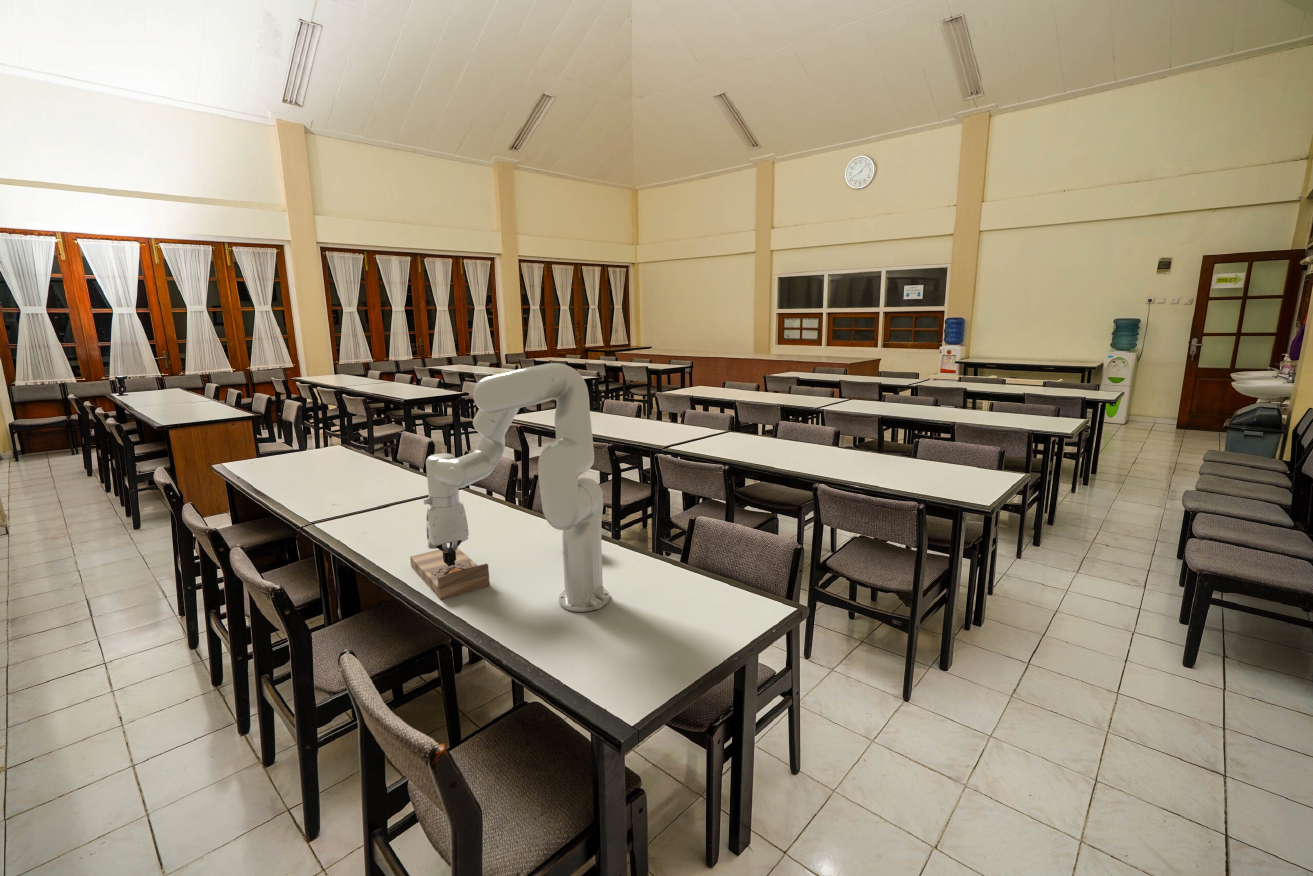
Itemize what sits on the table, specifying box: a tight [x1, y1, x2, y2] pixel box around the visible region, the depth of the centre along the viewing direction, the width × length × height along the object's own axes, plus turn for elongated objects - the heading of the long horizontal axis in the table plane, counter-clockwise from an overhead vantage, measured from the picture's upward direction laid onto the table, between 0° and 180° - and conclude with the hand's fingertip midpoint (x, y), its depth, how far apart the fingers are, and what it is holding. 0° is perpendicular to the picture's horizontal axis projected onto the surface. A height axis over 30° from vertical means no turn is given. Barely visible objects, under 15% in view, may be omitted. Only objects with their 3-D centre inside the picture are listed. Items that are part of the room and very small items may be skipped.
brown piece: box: [409, 546, 491, 601], centre depth 164 cm, size 26×13×6 cm, turn 37°
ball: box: [449, 568, 462, 573], centre depth 159 cm, size 4×4×4 cm
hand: (450, 564), depth 163 cm, fingers closed
